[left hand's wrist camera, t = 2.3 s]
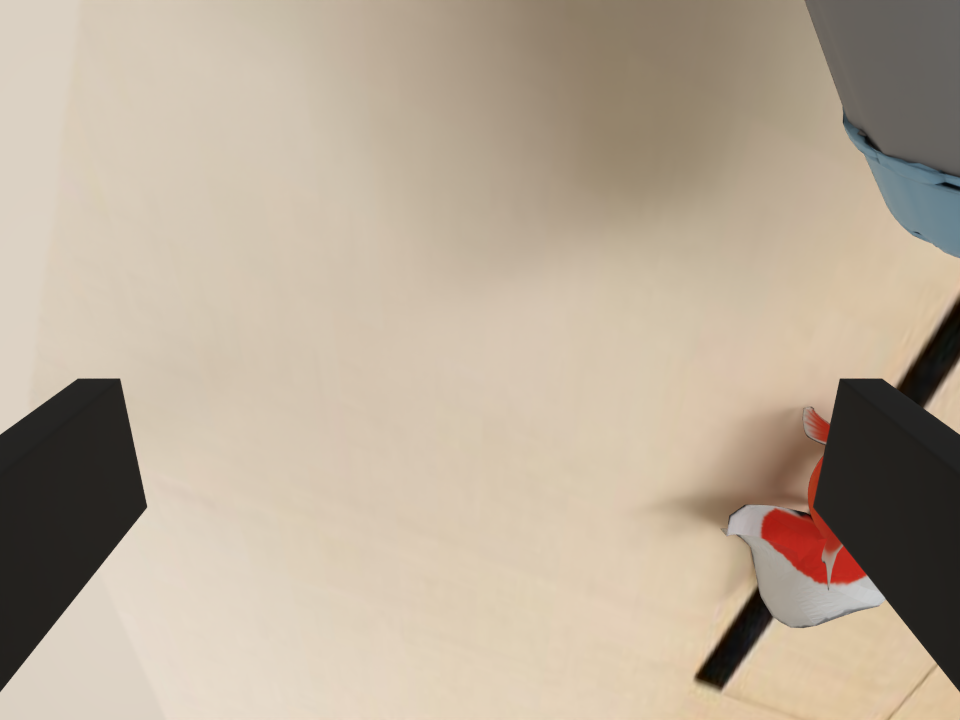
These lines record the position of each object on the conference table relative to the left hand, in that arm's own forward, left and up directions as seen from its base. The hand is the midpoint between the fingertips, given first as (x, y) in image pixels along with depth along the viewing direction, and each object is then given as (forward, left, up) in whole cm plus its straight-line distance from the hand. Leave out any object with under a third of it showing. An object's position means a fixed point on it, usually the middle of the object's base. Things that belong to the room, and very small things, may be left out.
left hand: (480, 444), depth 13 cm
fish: (+26, +8, -26) cm, 38 cm away
